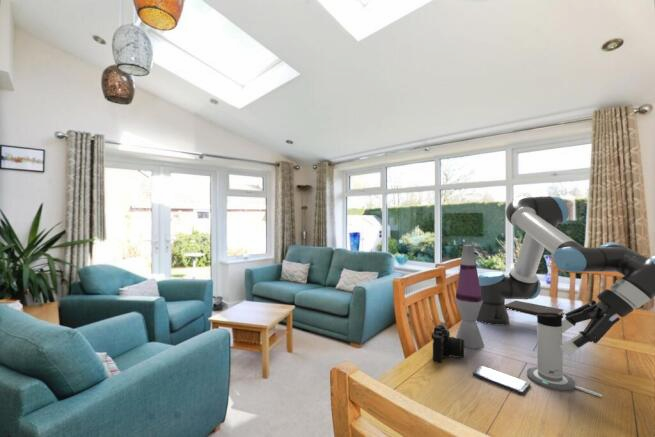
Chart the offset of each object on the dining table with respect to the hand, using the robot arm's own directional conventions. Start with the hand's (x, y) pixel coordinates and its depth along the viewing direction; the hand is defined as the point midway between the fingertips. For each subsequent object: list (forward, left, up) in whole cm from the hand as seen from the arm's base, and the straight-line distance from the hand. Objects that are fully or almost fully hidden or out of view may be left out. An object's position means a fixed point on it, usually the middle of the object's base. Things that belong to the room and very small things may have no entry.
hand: (557, 341), depth 91 cm
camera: (-31, -9, -13) cm, 34 cm away
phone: (-12, -13, -12) cm, 21 cm away
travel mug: (-2, -1, -11) cm, 12 cm away
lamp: (-31, +8, -12) cm, 34 cm away
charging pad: (+1, -1, -12) cm, 12 cm away
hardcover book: (-27, +76, -13) cm, 82 cm away
